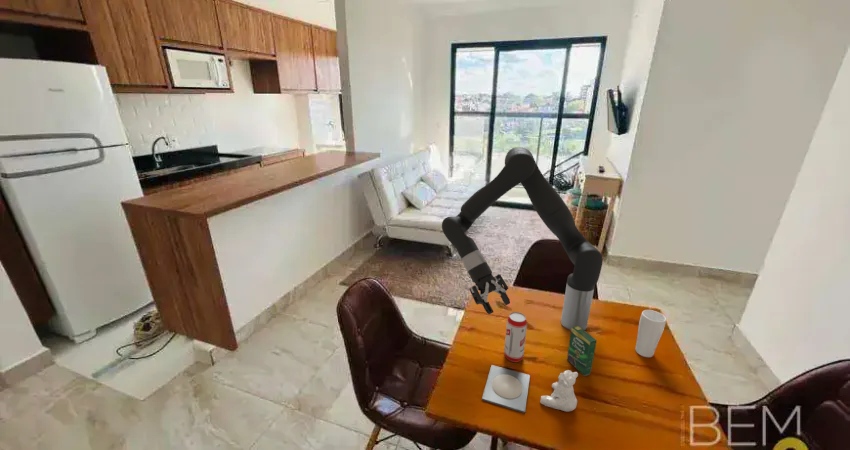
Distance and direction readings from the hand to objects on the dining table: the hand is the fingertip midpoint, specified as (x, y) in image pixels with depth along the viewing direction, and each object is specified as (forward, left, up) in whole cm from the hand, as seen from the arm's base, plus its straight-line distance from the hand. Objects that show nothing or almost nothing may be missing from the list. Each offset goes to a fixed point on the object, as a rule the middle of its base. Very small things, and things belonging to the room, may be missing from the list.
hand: (499, 308), depth 112 cm
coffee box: (+1, +26, -15) cm, 30 cm away
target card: (+18, +6, -15) cm, 24 cm away
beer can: (+4, +6, -15) cm, 17 cm away
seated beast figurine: (+17, +21, -15) cm, 31 cm away
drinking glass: (-14, +47, -15) cm, 52 cm away
